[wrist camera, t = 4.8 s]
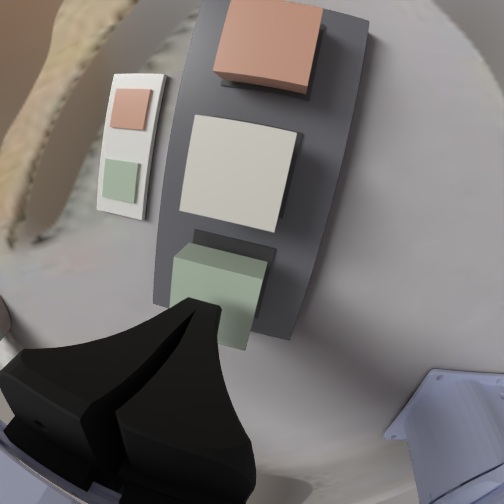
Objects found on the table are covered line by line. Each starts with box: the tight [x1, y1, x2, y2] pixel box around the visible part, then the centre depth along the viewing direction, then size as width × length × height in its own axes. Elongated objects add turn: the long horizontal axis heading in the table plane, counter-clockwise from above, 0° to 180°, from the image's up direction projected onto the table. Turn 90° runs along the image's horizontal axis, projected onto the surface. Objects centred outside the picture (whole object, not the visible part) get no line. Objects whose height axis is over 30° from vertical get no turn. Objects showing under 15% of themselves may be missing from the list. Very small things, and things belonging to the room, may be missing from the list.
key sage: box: [169, 243, 267, 351], centre depth 13 cm, size 4×4×2 cm
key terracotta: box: [213, 0, 323, 94], centre depth 10 cm, size 4×4×2 cm
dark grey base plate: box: [153, 0, 369, 340], centre depth 14 cm, size 8×17×1 cm, turn 169°
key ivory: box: [179, 115, 297, 232], centre depth 11 cm, size 4×4×2 cm
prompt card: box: [97, 74, 167, 220], centre depth 14 cm, size 3×8×1 cm, turn 169°
